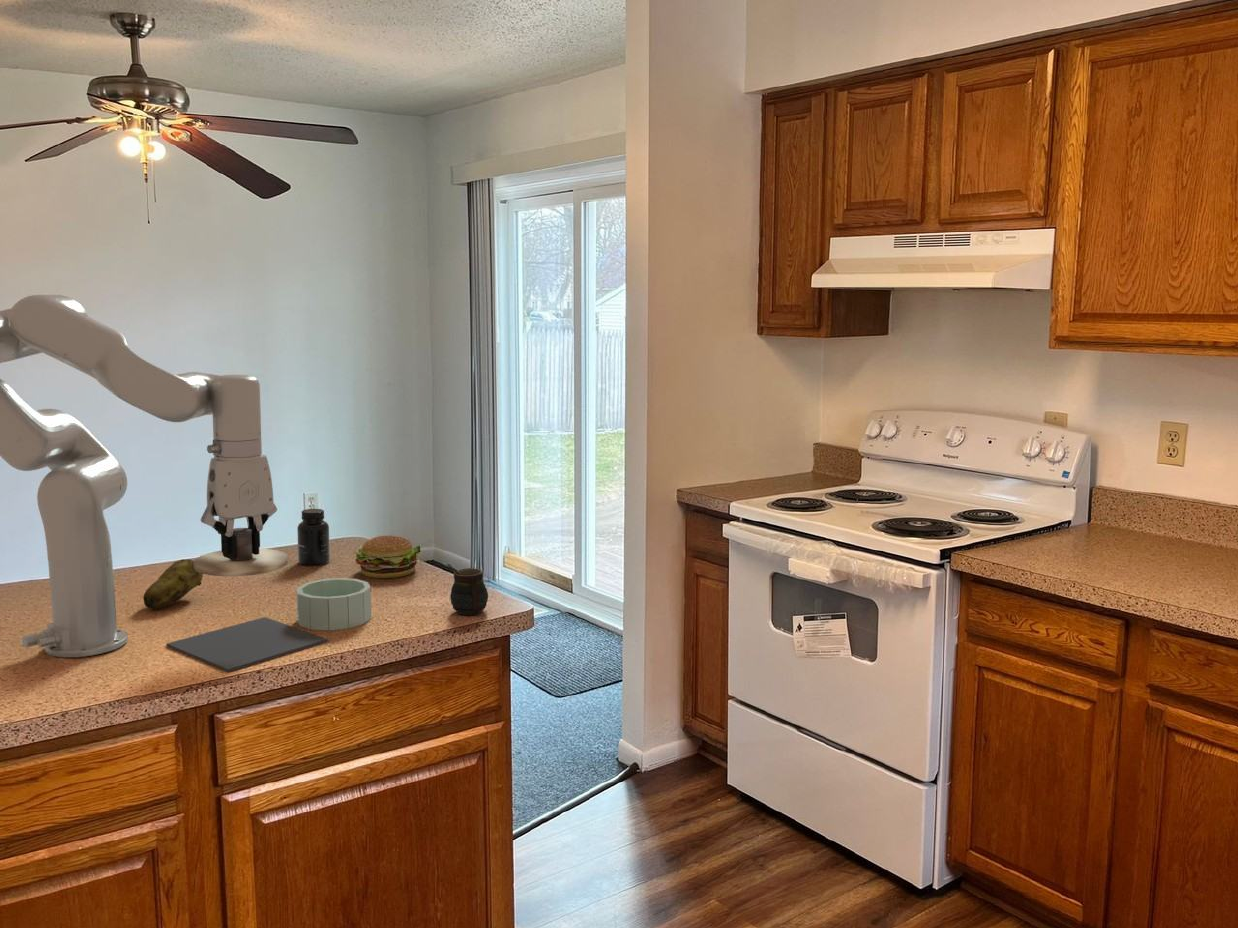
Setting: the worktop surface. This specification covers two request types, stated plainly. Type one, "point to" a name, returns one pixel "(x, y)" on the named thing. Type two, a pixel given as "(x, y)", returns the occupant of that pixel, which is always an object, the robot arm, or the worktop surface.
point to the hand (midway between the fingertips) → (241, 554)
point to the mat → (246, 643)
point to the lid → (241, 559)
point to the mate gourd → (468, 591)
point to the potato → (172, 584)
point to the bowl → (333, 604)
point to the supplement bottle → (313, 538)
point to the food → (387, 557)
